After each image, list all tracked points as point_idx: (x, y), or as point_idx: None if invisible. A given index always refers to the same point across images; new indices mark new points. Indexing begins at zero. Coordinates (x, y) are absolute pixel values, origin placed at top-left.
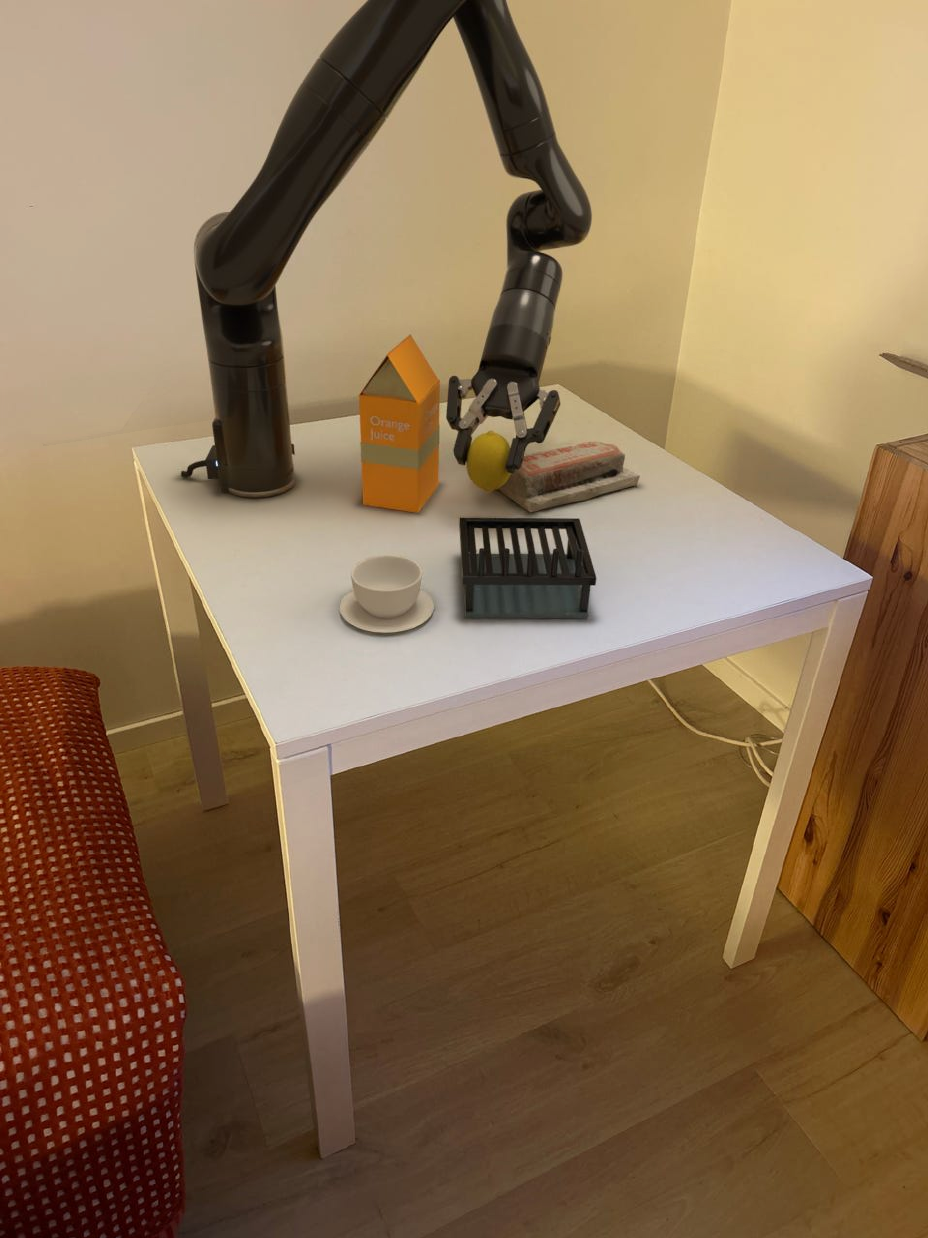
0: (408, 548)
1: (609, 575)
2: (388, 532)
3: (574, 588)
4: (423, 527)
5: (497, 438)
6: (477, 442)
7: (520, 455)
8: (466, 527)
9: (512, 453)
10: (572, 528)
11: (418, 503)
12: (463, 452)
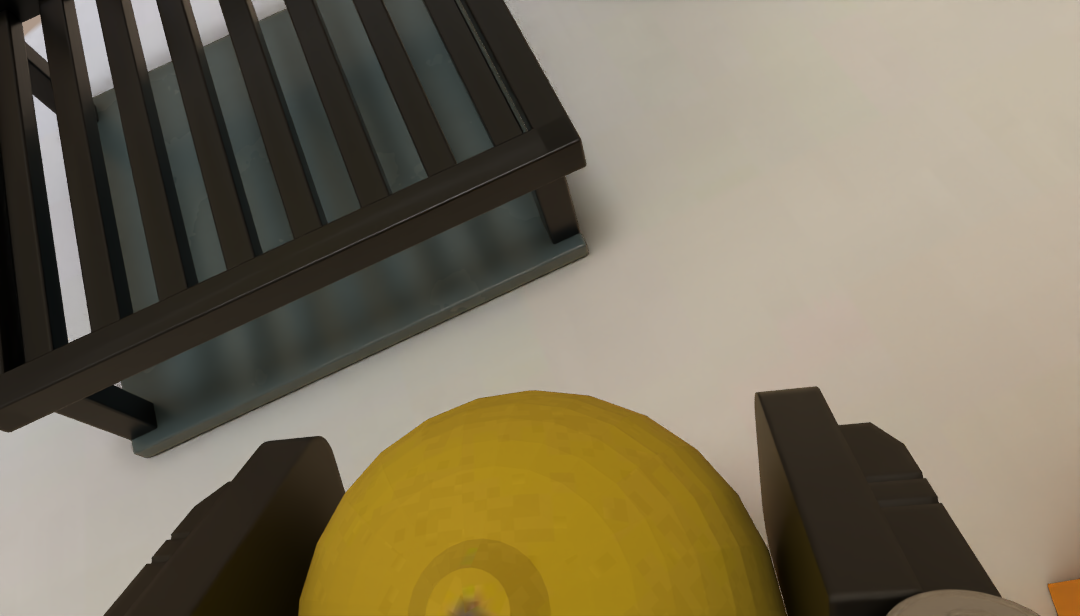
0: (848, 220)
1: None
2: (1039, 306)
3: (116, 212)
4: (908, 434)
5: (378, 566)
6: (623, 466)
7: (169, 545)
8: (506, 73)
9: (234, 503)
10: (22, 338)
11: (1078, 583)
12: (765, 424)
